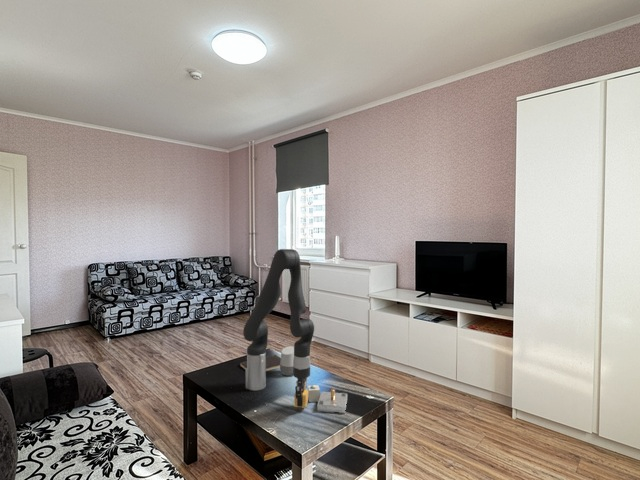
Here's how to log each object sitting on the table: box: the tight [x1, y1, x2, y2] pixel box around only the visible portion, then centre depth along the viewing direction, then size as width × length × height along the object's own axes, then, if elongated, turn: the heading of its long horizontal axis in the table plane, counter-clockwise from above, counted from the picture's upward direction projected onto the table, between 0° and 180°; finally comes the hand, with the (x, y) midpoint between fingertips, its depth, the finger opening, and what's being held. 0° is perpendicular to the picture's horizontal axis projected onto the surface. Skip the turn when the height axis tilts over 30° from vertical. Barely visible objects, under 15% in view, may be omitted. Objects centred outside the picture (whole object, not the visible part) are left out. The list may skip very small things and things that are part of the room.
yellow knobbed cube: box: [293, 389, 309, 409], centre depth 152 cm, size 5×5×6 cm
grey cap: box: [307, 384, 321, 403], centre depth 161 cm, size 5×5×6 cm
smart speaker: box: [279, 345, 294, 377], centre depth 189 cm, size 10×9×14 cm
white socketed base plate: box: [316, 388, 348, 414], centre depth 155 cm, size 12×12×7 cm
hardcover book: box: [239, 354, 281, 372], centre depth 201 cm, size 16×23×2 cm
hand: (301, 402), depth 153 cm, fingers closed on yellow knobbed cube, 5 cm apart
